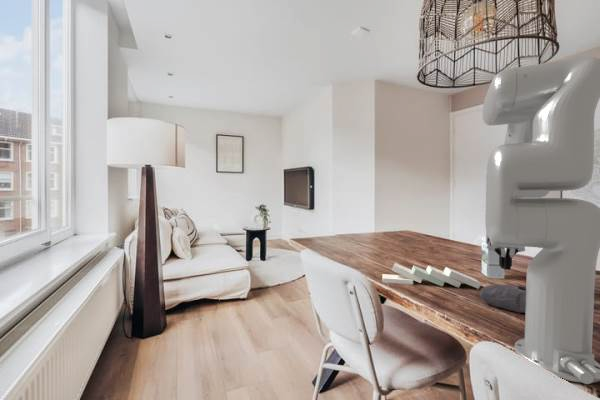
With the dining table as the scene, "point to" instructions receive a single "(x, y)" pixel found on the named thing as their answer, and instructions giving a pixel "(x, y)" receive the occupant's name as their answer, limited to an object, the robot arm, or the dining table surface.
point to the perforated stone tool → (505, 297)
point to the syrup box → (490, 263)
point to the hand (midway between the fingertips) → (505, 268)
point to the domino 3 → (426, 275)
